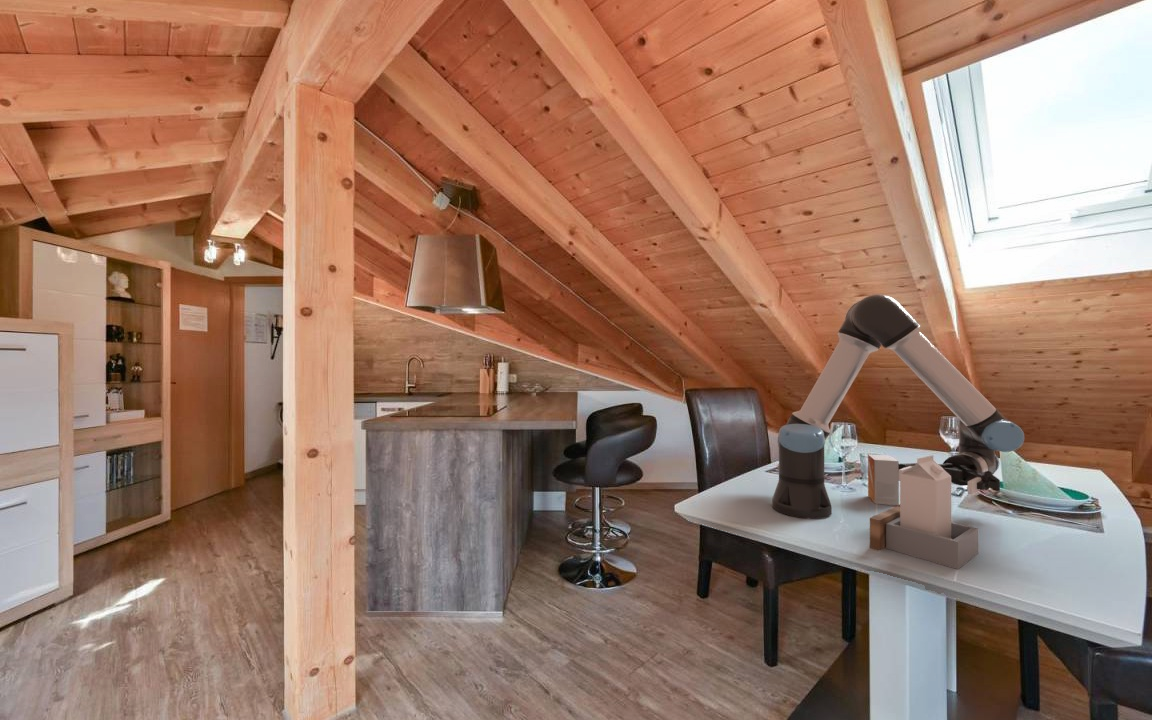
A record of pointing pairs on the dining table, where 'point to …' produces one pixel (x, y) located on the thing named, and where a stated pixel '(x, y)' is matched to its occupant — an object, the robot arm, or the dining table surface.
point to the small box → (883, 479)
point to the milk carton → (926, 498)
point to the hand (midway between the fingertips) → (933, 481)
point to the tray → (934, 543)
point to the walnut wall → (881, 527)
